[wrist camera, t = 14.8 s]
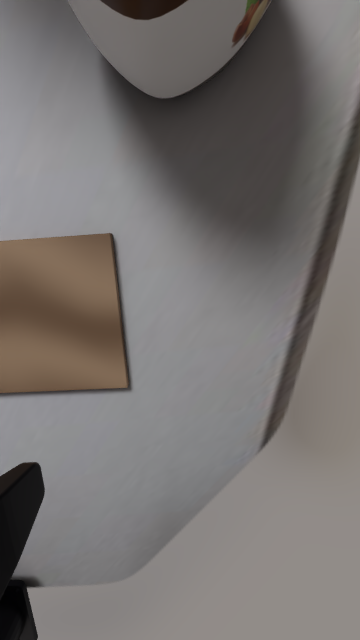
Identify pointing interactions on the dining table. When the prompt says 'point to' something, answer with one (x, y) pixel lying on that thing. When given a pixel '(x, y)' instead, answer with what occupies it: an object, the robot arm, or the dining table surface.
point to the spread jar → (169, 38)
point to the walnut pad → (60, 315)
